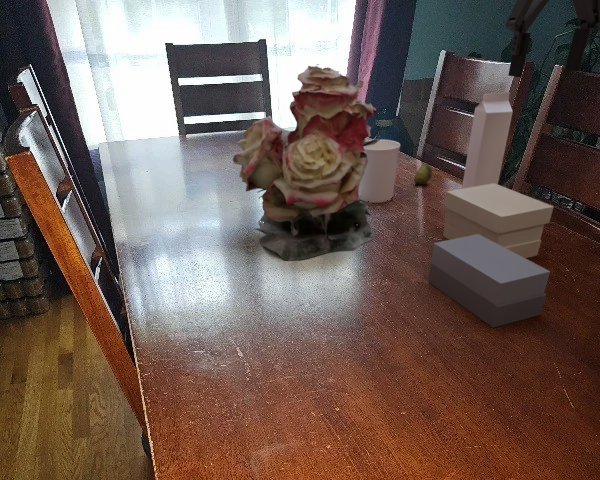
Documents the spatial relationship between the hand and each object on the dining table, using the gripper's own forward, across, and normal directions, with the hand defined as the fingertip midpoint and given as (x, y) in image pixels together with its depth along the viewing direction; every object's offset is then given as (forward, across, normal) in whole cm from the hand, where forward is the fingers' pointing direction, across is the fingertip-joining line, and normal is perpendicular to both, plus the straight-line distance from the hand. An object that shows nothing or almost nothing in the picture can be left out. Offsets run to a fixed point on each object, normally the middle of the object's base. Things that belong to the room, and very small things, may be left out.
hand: (543, 73), depth 96 cm
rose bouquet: (+27, +44, -9) cm, 52 cm away
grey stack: (+27, +30, +28) cm, 49 cm away
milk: (+27, -1, -13) cm, 30 cm away
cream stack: (+27, +15, +11) cm, 33 cm away
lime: (+27, +4, -29) cm, 40 cm away
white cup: (+27, +20, -25) cm, 42 cm away
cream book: (+21, +15, +11) cm, 28 cm away
